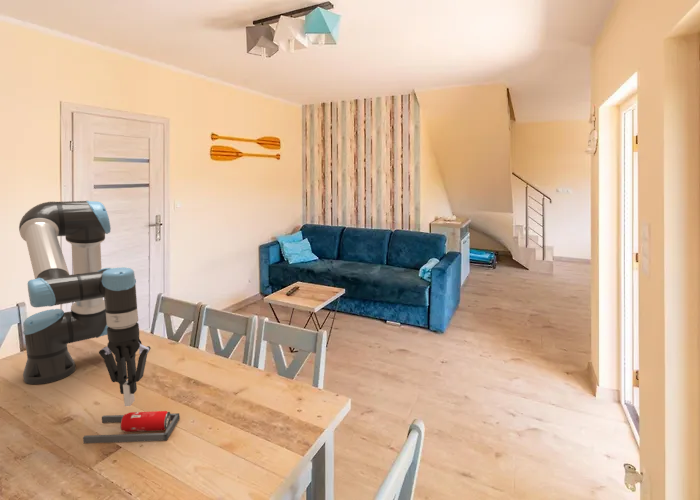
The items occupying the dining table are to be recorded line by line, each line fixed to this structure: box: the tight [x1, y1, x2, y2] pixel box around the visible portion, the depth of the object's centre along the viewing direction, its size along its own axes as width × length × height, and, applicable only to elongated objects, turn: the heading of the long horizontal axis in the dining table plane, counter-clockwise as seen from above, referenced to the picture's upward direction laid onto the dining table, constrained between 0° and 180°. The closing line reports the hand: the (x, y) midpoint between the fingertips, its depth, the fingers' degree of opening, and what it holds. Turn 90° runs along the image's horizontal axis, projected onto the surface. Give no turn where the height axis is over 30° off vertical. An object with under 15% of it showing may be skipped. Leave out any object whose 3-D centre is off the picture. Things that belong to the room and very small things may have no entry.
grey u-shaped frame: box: [82, 413, 180, 444], centre depth 110 cm, size 22×10×2 cm, turn 95°
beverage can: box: [120, 410, 172, 433], centre depth 111 cm, size 5×5×12 cm
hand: (129, 403), depth 109 cm, fingers closed
